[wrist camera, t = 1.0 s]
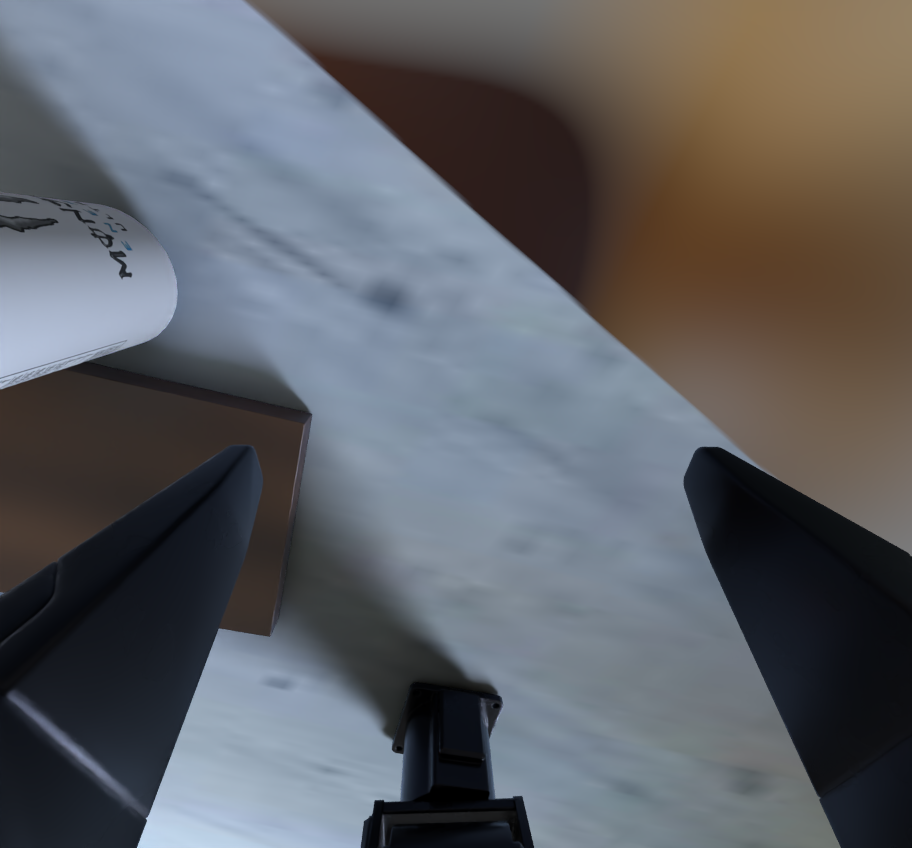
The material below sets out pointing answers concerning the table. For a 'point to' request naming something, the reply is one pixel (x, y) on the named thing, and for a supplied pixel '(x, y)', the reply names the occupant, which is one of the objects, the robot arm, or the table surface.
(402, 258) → the table surface
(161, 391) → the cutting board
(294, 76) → the table surface
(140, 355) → the table surface
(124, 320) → the energy drink can
